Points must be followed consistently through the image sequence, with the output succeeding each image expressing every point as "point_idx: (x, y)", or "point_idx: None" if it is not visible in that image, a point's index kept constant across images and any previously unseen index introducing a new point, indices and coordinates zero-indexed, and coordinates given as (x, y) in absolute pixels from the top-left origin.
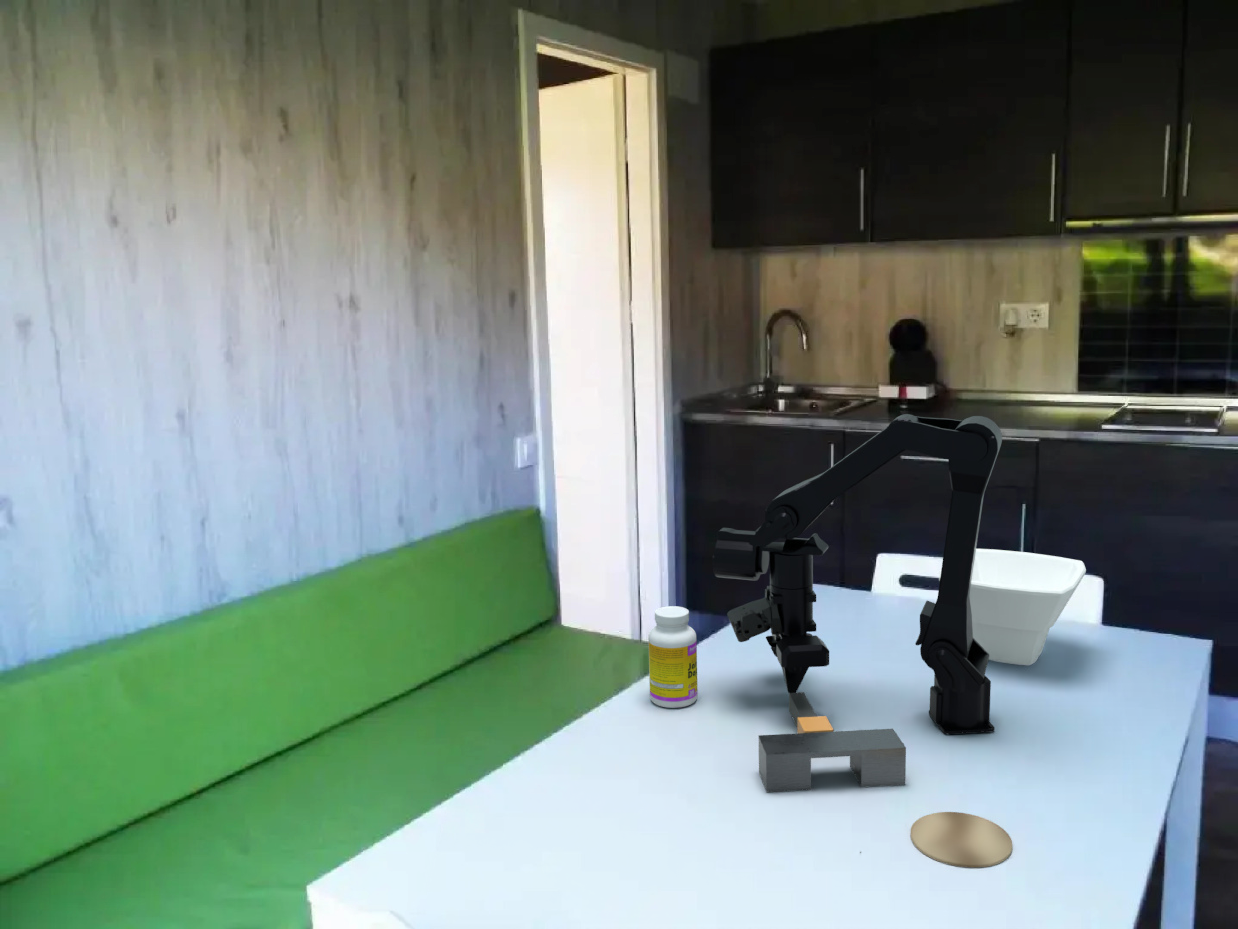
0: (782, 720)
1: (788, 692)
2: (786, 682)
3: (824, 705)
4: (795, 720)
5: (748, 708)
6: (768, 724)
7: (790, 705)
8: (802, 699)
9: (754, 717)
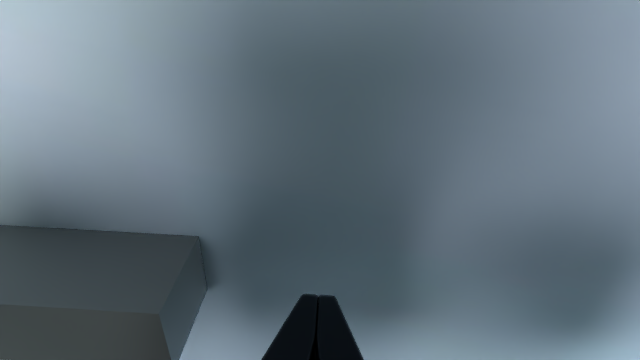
0: (82, 184)
1: (302, 295)
2: (282, 343)
3: (253, 356)
4: (40, 239)
5: (238, 33)
6: (13, 105)
7: (144, 265)
8: (67, 347)
9: (98, 43)
